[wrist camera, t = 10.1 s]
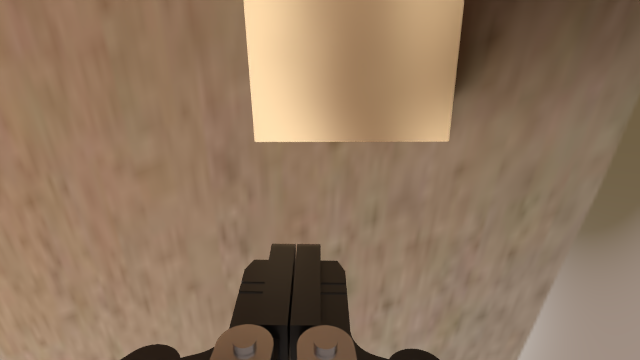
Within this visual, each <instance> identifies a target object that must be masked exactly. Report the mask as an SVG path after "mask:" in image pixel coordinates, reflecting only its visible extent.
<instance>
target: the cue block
mask: <svg viewBox="0 0 640 360" xmlns="http://www.w3.org/2000/svg"><path fill="white" fill-rule="evenodd" d="M463 8H464V0H244V11H245V23H246V36H247V49H248V61H249V74H250V87H251V99H252V112H253V125H254V137H255V142H398V141H449V134H450V125H451V116H452V107H453V98H454V89H455V80H456V71H457V62H458V53H459V44H460V35H461V26H462V17H463Z"/></svg>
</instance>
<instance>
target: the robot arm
mask: <svg viewBox="0 0 640 360" xmlns="http://www.w3.org/2000/svg"><path fill="white" fill-rule="evenodd" d="M121 360H439V359H438V358H437V357H435V356H434V355H432V354H430V353H428V352H426V351H423V350H419V349H405V350H401V351H398V352H396V353H395V354H393V355H392V356H391V357H390V359H386V358H382V357H378V356H375V355H372V354H370V353H368V352H366V351H364V350H363V349H361V348H360V347H359V346H358V345H357V344H356V343H355V341H354V340H353V338H352V336H351V332H350V323H349V311H348V300H347V288H346V277H345V271H344V269H343V268H342V267H341V265H340V264H339V263H338V261H320V244H297V253H296V245H295V244H272V246H271V251H270V257H269V260H254V261H253V262H252V263H251V264H250V265H249V266H248V267H247V268H246V269H245V271H244V274H243V278H242V284H241V286H240V290H239V294H238V297H237V301H236V305H235V309H234V312H233V316H232V320H231V324H230V328H229V329H228V330H227V331H225V332H224V333H223V334H222V335H221V336H220V337H219V338H218V340H217V342H216V345H215V347H213V348H212V349H210V350H207V351H205V352H202V353H199V354H195V355H191V356H187V357H183V358H180V355H179V353H178V352H177V351H176V350H175V349H174V348H172V347H170V346H167V345H161V344H156V345H149V346H145V347H142V348H140V349H137V350H135V351H134V352H132V353H130V354H129V355H127V356H126V357H124V358H122V359H121Z"/></svg>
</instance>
